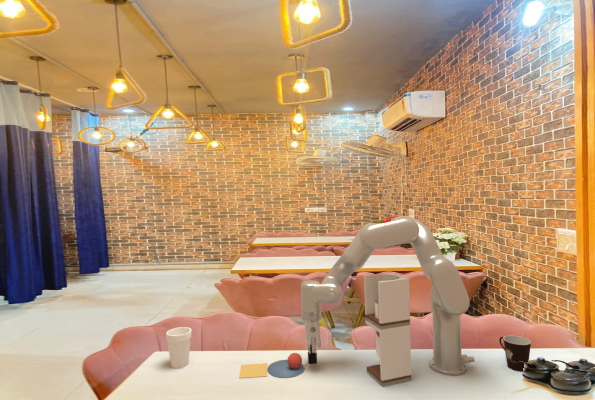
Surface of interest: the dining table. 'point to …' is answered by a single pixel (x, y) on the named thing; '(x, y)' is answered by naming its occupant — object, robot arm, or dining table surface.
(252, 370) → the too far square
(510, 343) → the coffee mug
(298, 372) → the disc
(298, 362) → the ball
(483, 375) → the dining table surface
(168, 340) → the foam cup
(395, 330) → the display case
